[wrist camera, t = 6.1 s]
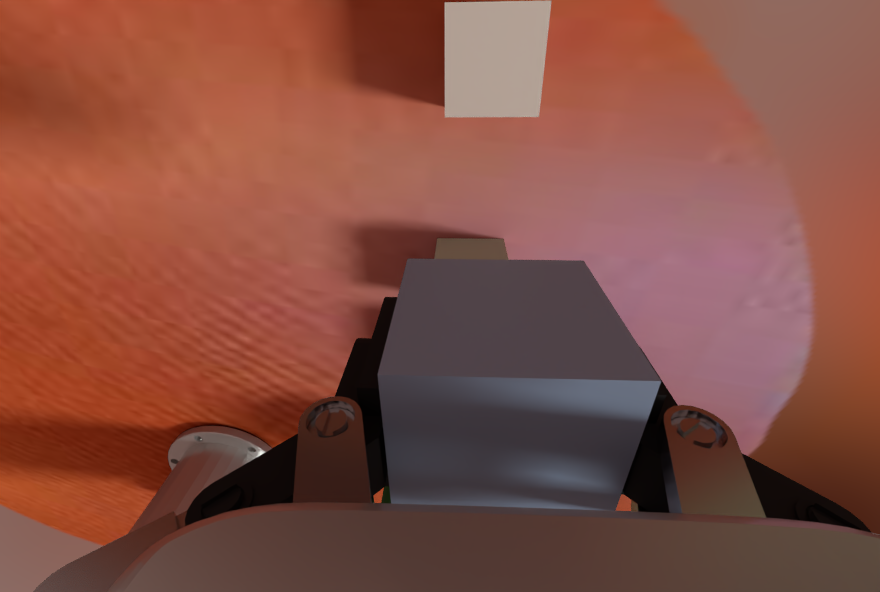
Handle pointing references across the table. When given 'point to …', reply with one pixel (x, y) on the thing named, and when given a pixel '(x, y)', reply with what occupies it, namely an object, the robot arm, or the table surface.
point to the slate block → (510, 387)
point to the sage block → (470, 249)
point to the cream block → (495, 58)
